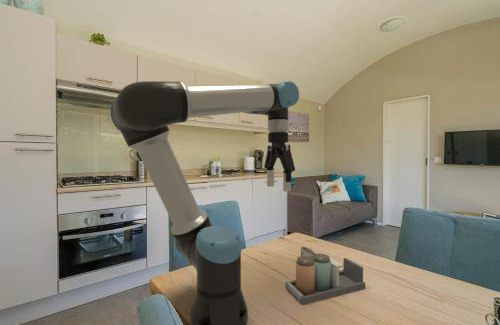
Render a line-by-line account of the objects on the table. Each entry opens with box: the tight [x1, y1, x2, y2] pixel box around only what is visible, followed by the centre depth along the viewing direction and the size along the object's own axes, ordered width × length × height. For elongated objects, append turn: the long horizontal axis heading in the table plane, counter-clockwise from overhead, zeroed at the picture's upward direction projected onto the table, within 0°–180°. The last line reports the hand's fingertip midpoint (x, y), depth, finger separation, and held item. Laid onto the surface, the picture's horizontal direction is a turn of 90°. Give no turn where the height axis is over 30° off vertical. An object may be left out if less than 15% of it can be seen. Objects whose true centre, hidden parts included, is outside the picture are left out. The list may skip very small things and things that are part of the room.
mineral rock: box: [300, 246, 316, 258], centre depth 101 cm, size 15×8×4 cm, turn 169°
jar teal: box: [312, 253, 331, 292], centre depth 82 cm, size 6×6×10 cm
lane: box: [284, 257, 366, 305], centre depth 82 cm, size 24×10×7 cm, turn 111°
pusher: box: [330, 257, 343, 288], centre depth 83 cm, size 2×7×8 cm, turn 21°
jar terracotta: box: [295, 255, 315, 296], centre depth 80 cm, size 6×6×10 cm
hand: (278, 188), depth 95 cm, fingers open, 13 cm apart
